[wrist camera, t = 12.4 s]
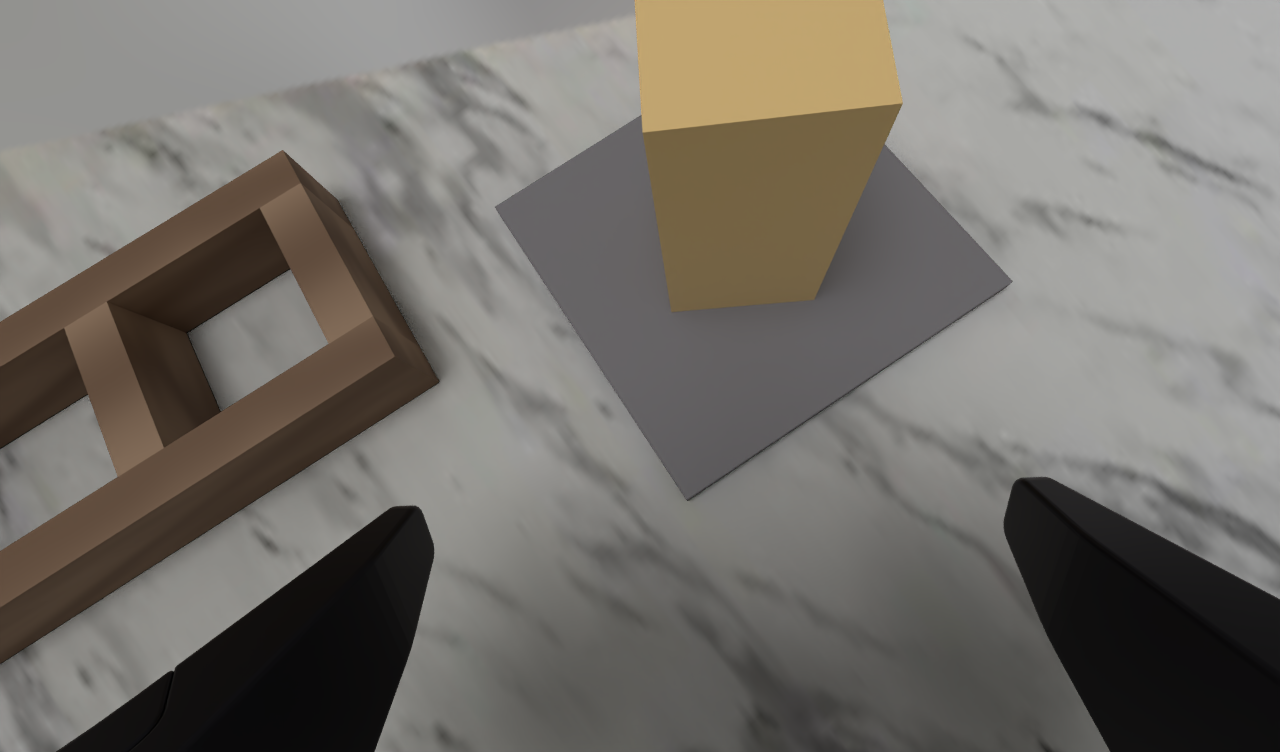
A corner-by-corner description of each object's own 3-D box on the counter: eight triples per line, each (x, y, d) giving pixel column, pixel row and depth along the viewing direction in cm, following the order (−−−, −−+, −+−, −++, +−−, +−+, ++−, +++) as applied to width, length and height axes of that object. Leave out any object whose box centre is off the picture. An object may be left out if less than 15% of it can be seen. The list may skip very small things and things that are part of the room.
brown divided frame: (439, 382, 20) (394, 356, 17) (-42, 690, 19) (-174, 717, 16) (336, 199, 23) (283, 150, 20) (-98, 466, 22) (-221, 456, 19)
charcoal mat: (1004, 287, 19) (1012, 281, 19) (687, 500, 18) (686, 500, 18) (775, 40, 22) (777, 29, 22) (499, 214, 22) (494, 206, 21)
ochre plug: (814, 299, 19) (902, 103, 10) (671, 312, 19) (642, 132, 11) (797, 174, 20) (864, -96, 12) (662, 188, 21) (630, -63, 12)
